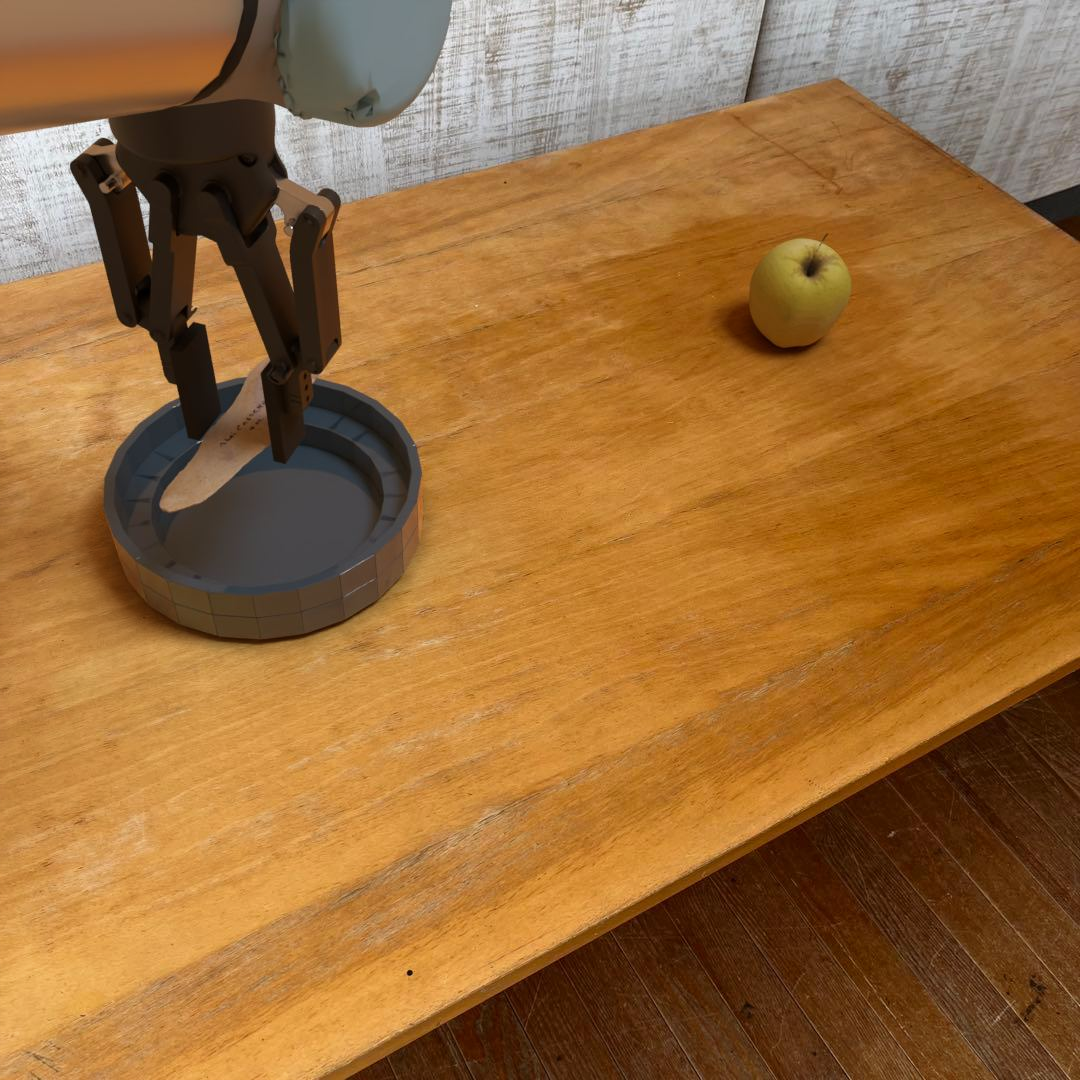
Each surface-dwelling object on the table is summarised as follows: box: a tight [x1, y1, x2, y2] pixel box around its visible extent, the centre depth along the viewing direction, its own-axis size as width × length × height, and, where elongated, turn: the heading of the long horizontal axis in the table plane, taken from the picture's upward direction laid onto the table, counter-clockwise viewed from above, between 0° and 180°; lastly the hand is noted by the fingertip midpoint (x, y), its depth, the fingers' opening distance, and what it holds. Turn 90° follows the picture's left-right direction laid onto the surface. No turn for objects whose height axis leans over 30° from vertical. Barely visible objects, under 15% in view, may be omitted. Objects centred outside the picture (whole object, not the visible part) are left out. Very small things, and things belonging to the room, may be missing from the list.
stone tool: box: [159, 355, 321, 513], centre depth 69 cm, size 5×2×15 cm
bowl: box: [102, 376, 424, 640], centre depth 79 cm, size 20×20×5 cm
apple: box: [748, 232, 852, 349], centre depth 95 cm, size 8×8×10 cm
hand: (246, 435), depth 69 cm, fingers closed on stone tool, 5 cm apart
